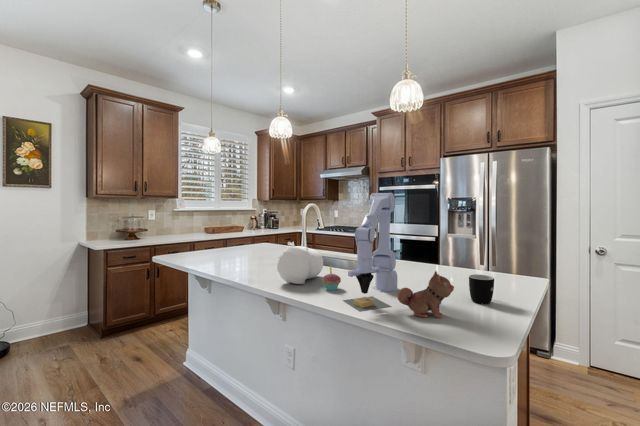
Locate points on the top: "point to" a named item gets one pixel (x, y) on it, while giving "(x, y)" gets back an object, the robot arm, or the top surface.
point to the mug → (481, 288)
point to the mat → (377, 305)
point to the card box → (363, 302)
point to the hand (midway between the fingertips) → (364, 292)
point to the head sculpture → (299, 264)
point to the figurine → (427, 296)
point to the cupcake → (331, 280)
